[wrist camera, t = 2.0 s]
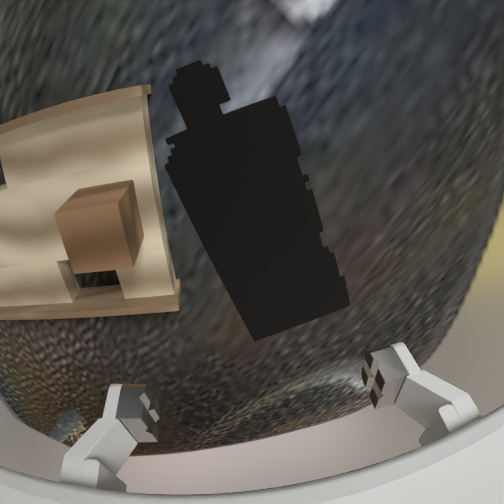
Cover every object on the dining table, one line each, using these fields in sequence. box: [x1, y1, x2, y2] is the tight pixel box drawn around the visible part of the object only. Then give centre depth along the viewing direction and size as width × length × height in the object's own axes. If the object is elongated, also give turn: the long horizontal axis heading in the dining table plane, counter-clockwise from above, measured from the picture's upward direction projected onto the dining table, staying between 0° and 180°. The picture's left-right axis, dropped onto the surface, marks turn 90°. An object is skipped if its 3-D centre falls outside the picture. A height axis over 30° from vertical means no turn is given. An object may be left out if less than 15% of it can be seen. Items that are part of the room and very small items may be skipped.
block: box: [54, 180, 144, 274], centre depth 22 cm, size 5×5×5 cm
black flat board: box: [165, 60, 350, 341], centre depth 29 cm, size 12×1×30 cm
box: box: [0, 84, 181, 320], centre depth 24 cm, size 20×25×4 cm
